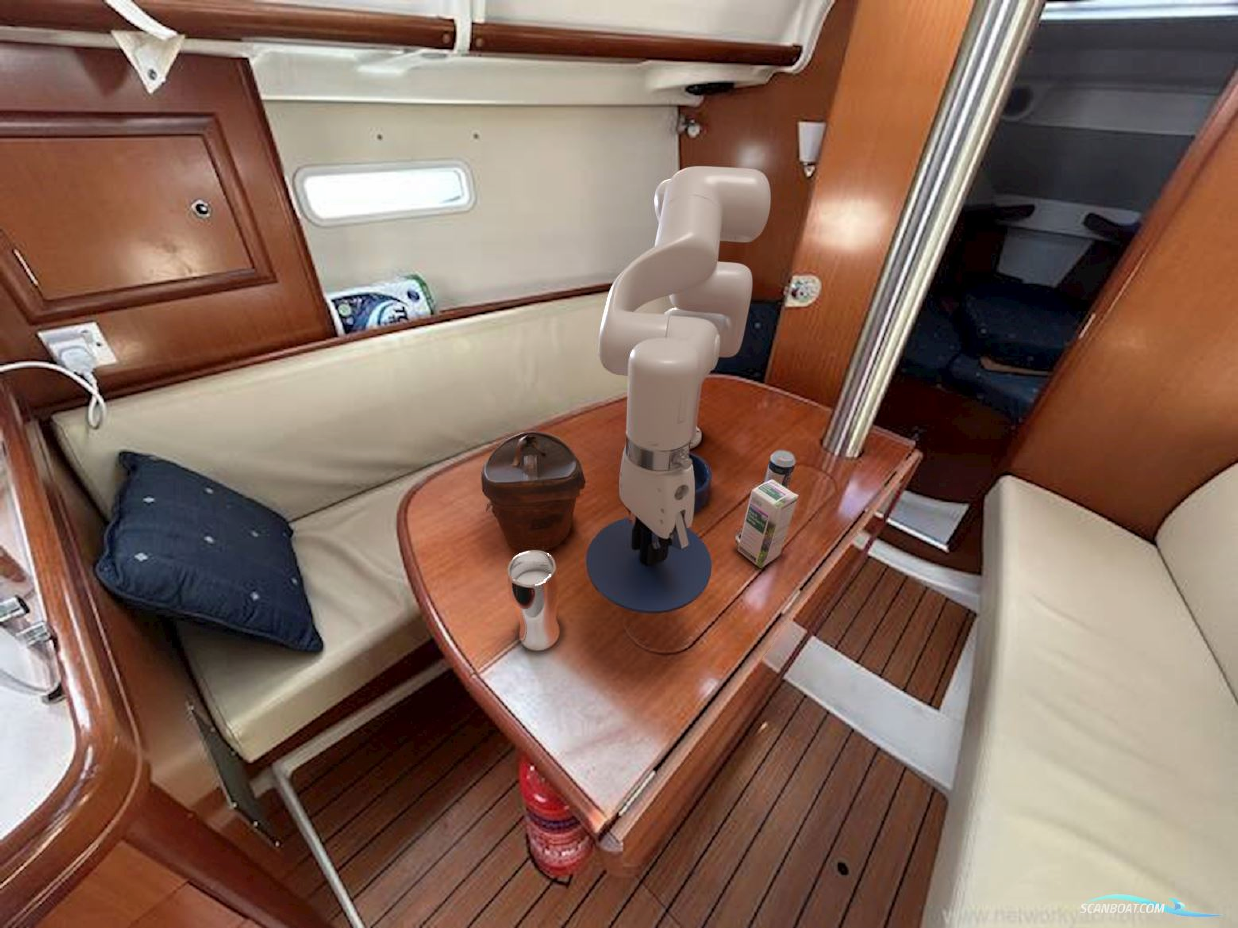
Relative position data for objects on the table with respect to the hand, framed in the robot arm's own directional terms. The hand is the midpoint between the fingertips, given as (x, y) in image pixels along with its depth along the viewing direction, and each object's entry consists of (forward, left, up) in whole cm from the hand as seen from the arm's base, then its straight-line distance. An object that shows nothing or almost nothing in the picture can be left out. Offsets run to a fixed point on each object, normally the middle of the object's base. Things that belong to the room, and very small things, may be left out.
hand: (649, 552), depth 70 cm
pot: (-23, +25, -16) cm, 37 cm away
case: (-29, -3, -16) cm, 33 cm away
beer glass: (-8, -14, -16) cm, 23 cm away
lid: (0, 0, -2) cm, 2 cm away
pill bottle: (-8, +40, -16) cm, 44 cm away
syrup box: (0, +27, -16) cm, 31 cm away
